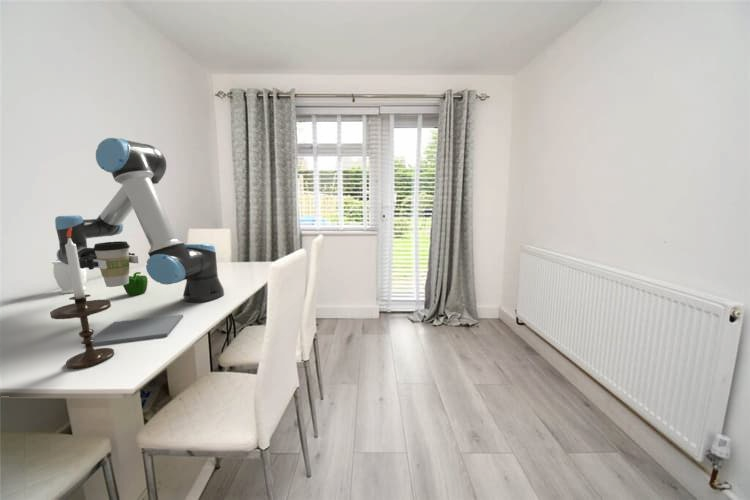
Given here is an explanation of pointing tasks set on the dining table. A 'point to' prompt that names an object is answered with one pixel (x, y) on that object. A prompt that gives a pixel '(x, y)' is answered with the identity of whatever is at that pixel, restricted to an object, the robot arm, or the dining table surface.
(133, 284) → the bell pepper
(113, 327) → the slate mat
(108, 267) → the coffee cup
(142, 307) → the dining table surface
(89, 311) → the candlestick
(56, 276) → the jar
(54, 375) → the dining table surface
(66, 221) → the robot arm
